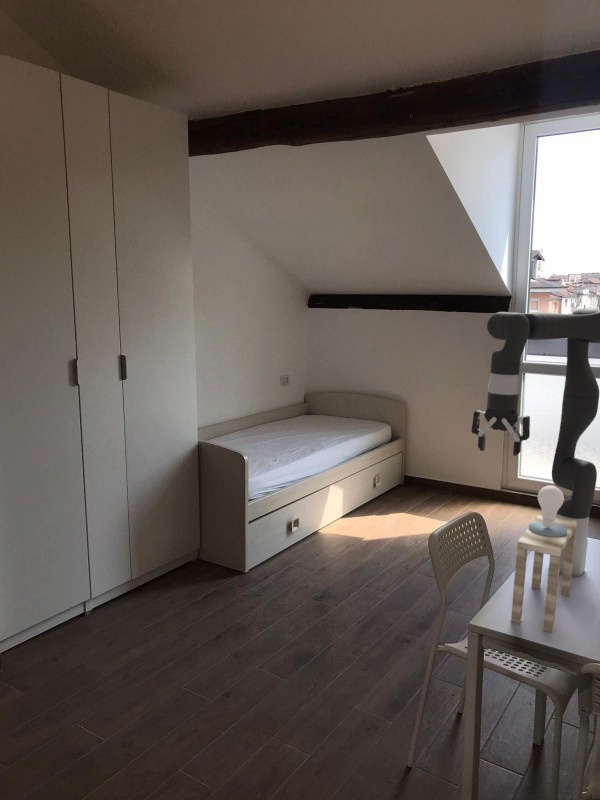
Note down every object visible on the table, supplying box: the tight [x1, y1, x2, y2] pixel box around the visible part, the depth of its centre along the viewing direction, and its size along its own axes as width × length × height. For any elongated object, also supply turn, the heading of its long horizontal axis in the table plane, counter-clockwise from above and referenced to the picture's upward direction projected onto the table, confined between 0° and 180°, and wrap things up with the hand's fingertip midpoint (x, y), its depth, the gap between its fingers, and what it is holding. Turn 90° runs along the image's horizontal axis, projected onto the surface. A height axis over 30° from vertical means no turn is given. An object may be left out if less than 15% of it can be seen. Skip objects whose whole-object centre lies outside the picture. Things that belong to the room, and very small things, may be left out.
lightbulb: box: [537, 485, 565, 529], centre depth 161 cm, size 6×6×11 cm
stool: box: [510, 513, 577, 633], centre depth 164 cm, size 24×10×21 cm, turn 148°
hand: (498, 452), depth 168 cm, fingers open, 8 cm apart
